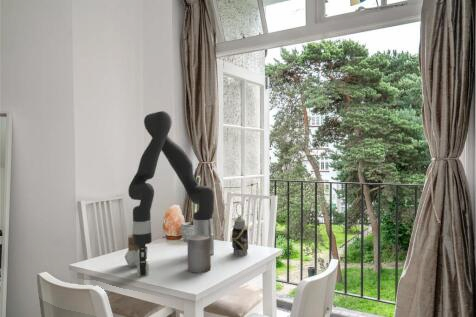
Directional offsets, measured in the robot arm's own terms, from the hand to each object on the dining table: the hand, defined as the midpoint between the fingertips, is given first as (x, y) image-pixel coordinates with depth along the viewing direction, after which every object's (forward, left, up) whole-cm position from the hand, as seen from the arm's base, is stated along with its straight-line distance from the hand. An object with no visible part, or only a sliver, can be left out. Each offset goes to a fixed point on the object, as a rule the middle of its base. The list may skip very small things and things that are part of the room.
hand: (142, 272), depth 144 cm
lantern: (-46, -15, -1) cm, 48 cm away
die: (+3, -13, -1) cm, 13 cm away
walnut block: (+3, -13, +7) cm, 15 cm away
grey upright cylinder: (-23, +2, -1) cm, 23 cm away
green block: (0, 0, 0) cm, 0 cm away
